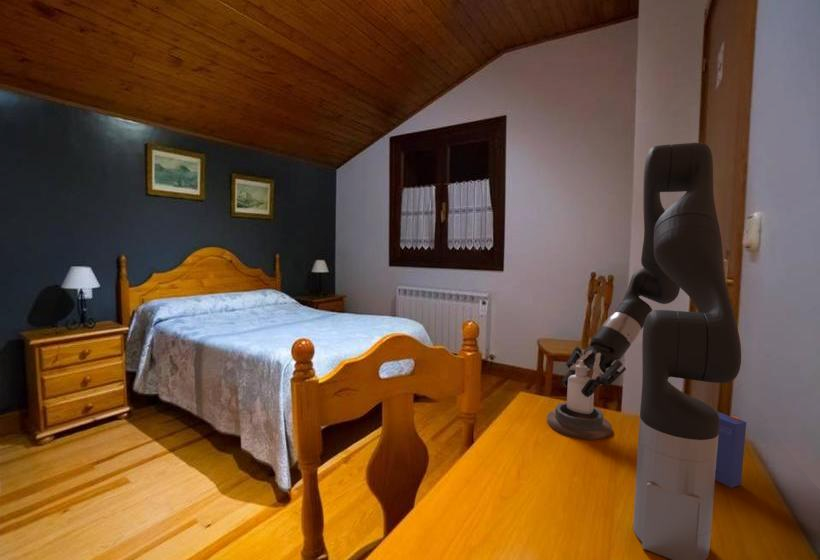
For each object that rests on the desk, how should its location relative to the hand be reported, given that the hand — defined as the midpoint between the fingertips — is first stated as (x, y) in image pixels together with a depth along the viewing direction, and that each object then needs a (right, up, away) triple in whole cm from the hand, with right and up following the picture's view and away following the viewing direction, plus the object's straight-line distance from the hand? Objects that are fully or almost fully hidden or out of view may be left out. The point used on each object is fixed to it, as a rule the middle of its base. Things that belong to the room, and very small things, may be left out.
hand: (574, 389), depth 92 cm
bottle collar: (+1, -9, +1) cm, 9 cm away
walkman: (+18, -11, -19) cm, 28 cm away
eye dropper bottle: (+2, -5, +1) cm, 6 cm away
